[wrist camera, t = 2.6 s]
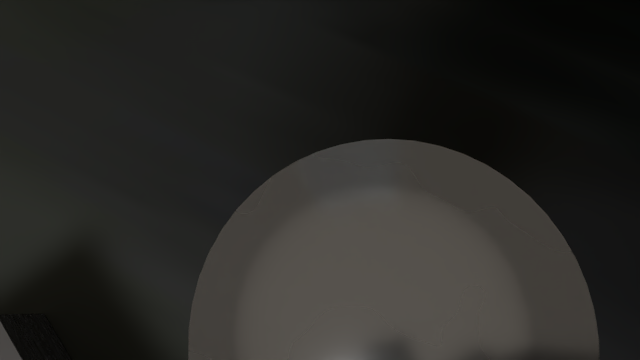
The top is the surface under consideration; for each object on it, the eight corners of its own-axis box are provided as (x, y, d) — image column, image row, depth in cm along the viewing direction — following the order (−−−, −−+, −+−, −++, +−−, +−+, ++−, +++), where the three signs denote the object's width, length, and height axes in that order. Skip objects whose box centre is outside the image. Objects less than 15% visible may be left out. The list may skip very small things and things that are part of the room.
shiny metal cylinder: (472, 335, 17) (689, 383, 6) (345, 434, 17) (349, 667, 6) (375, 210, 18) (422, 68, 7) (253, 301, 18) (112, 289, 7)
